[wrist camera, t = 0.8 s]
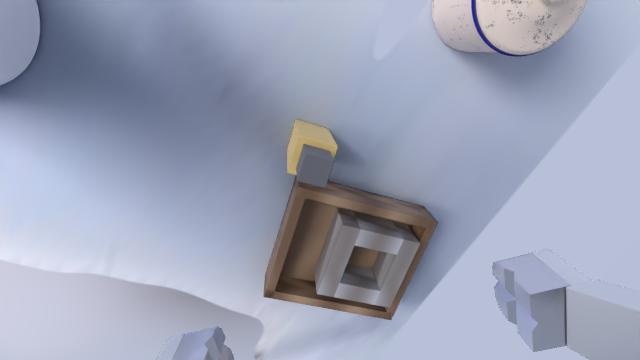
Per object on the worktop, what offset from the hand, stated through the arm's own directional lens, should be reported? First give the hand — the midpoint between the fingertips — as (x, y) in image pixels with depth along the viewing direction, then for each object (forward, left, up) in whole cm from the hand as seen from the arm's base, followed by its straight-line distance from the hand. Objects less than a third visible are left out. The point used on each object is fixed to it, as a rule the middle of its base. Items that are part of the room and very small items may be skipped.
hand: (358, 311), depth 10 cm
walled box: (+9, -13, -28) cm, 32 cm away
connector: (+1, -2, -28) cm, 28 cm away
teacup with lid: (+13, +17, -28) cm, 36 cm away
